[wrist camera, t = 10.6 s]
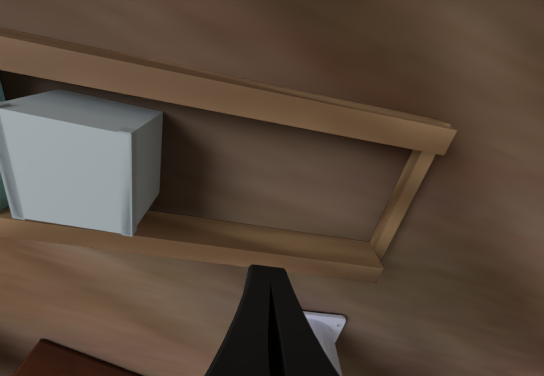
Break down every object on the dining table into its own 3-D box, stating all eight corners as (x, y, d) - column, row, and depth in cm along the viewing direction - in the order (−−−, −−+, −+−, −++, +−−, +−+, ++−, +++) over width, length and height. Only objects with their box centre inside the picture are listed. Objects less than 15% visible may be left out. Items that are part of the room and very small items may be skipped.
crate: (161, 193, 20) (132, 236, 15) (70, 177, 19) (12, 218, 14) (165, 109, 17) (131, 133, 13) (58, 86, 16) (-18, 102, 12)
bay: (374, 257, 23) (388, 284, 21) (10, 207, 20) (-28, 232, 17) (441, 120, 18) (473, 133, 15) (-46, 17, 14) (-116, 12, 12)
